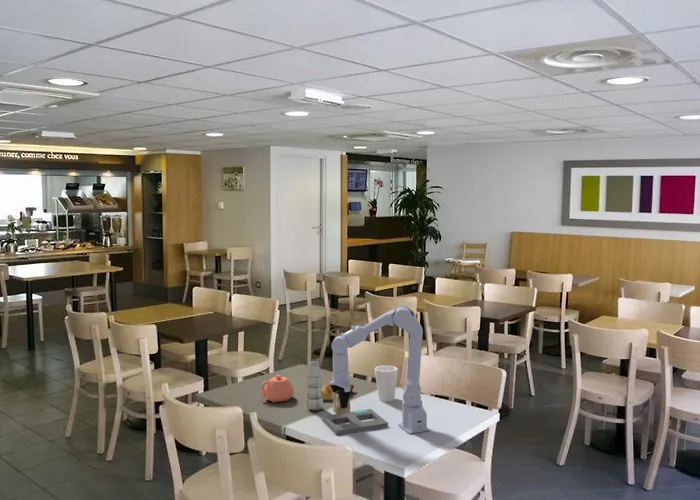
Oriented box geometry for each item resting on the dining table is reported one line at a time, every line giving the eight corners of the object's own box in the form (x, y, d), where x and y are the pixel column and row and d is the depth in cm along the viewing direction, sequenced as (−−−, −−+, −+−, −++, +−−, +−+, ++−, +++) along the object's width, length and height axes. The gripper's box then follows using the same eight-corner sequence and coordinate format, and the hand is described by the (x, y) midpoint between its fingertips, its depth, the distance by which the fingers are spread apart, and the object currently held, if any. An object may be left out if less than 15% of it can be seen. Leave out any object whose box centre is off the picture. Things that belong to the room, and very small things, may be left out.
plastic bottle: (321, 412, 237) (320, 362, 235) (304, 411, 238) (303, 361, 236) (325, 407, 243) (324, 358, 241) (309, 406, 244) (307, 357, 243)
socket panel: (387, 426, 221) (387, 422, 221) (336, 435, 214) (336, 430, 214) (370, 412, 236) (370, 408, 236) (322, 419, 229) (321, 415, 229)
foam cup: (398, 395, 256) (397, 365, 254) (397, 403, 246) (397, 371, 245) (375, 395, 256) (375, 365, 255) (374, 402, 247) (374, 371, 246)
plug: (350, 413, 221) (349, 394, 221) (337, 415, 220) (337, 396, 219) (345, 408, 226) (345, 390, 225) (332, 410, 224) (332, 392, 224)
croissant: (317, 411, 248) (321, 397, 244) (304, 395, 255) (308, 381, 251) (357, 399, 261) (362, 385, 257) (344, 384, 268) (349, 370, 264)
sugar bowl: (297, 401, 250) (296, 377, 250) (264, 406, 245) (263, 381, 244) (289, 393, 262) (288, 369, 261) (257, 397, 257) (256, 373, 256)
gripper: (324, 365, 227) (324, 400, 228) (336, 375, 213) (337, 413, 214) (341, 363, 229) (342, 398, 230) (355, 373, 216) (356, 410, 217)
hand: (341, 405), depth 223 cm, fingers closed on plug, 5 cm apart
